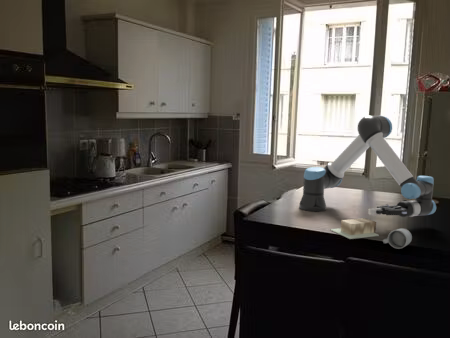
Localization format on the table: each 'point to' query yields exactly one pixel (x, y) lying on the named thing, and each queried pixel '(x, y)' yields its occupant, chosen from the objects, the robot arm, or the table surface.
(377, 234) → the sage mat
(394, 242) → the ceramic mug
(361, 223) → the birch block
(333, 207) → the table surface
